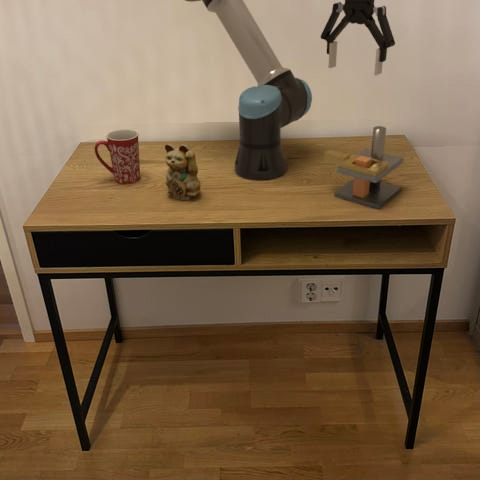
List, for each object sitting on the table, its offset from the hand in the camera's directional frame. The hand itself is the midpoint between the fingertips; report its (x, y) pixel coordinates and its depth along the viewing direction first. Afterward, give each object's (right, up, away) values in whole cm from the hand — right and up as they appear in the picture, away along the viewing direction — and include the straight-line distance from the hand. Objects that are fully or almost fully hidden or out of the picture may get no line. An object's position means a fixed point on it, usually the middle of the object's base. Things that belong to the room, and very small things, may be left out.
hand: (354, 70), depth 156 cm
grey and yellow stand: (+2, -32, +2) cm, 32 cm away
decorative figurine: (-45, -33, +4) cm, 56 cm away
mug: (-64, -28, +14) cm, 71 cm away
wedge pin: (+1, -33, -2) cm, 33 cm away
